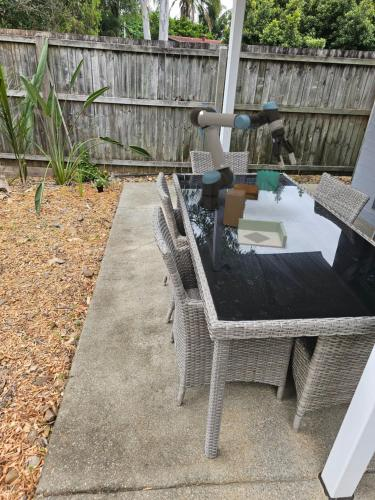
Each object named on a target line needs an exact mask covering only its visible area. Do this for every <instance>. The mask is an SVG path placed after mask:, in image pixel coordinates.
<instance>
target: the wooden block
mask: <svg viewBox="0 0 375 500" xmlns="http://www.w3.org/2000/svg"><path fill="white" fill-rule="evenodd" d="M245 195H246V191H244V190H236V189H233V188H229V189H228V190H227V191H226V193H225V201H224V202H225V203H224V210H223V211H224V212H223V219H222V220H223V221H222V224H223V226H226V225H227V227H228V226H229V227H234V228H238V223H239V218H240V219H244V209H245V202H246V199H245Z"/></svg>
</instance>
